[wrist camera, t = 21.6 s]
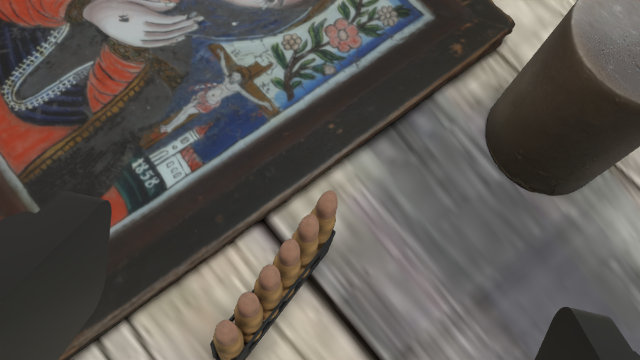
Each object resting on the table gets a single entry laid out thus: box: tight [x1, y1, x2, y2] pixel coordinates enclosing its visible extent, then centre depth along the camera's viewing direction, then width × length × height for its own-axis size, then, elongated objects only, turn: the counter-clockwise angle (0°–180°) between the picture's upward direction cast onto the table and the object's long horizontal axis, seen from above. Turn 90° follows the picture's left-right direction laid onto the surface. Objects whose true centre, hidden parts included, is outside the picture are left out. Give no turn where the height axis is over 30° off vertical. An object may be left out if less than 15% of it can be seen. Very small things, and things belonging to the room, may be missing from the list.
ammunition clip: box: [210, 190, 338, 360], centre depth 35 cm, size 11×2×12 cm, turn 144°
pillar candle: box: [486, 0, 640, 195], centre depth 41 cm, size 10×10×15 cm
